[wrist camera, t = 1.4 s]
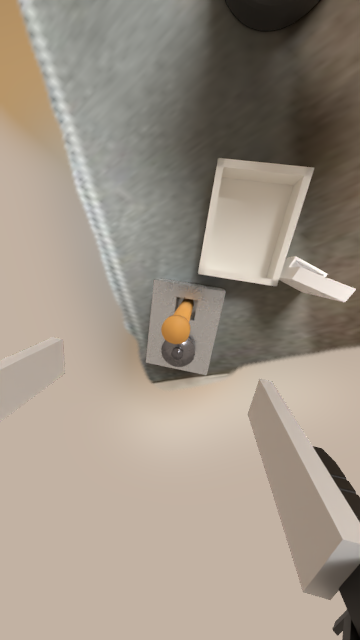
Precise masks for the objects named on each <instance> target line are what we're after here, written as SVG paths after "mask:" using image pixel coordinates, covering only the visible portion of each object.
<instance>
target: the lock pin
mask: <svg viewBox="0 0 360 640" xmlns="http://www.w3.org/2000/svg"><path fill="white" fill-rule="evenodd" d="M193 306H194V303H193V301H192V300H191V299H184V300H183V301H182V302H181V304H180V305H179V307H178V308H177V310H176V311H175V313H174V314H173V315H172V316H169V317H168V318H167V319H166V320H165V321H164V323H163V325H162V328H161V332H162V335H163V337H164V339H165V340H166V341H168V342H169V343H172V344H181V343H183V342H185V341H186V340H187V339H188V337H189V334H190V323H189V321H190V317H191V314H192V310H193Z"/></svg>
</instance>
